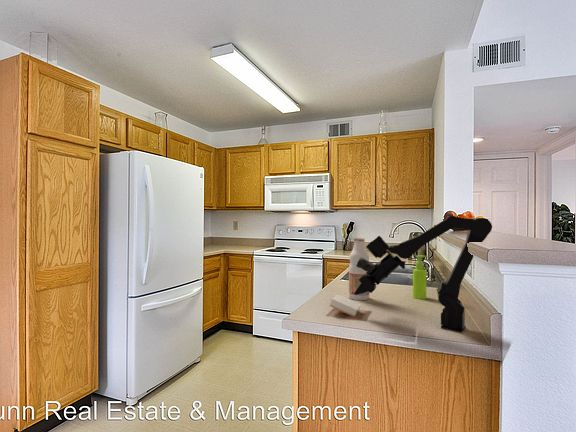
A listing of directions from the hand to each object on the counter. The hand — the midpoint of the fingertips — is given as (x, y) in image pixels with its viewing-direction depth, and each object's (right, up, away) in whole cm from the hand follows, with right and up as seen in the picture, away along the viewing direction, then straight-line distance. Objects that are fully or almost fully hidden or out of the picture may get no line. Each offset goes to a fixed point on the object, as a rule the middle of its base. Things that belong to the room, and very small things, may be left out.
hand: (355, 293), depth 121 cm
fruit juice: (+7, -9, +26) cm, 29 cm away
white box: (+1, -6, 0) cm, 6 cm away
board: (-2, -8, +1) cm, 9 cm away
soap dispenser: (+37, -9, +28) cm, 47 cm away
